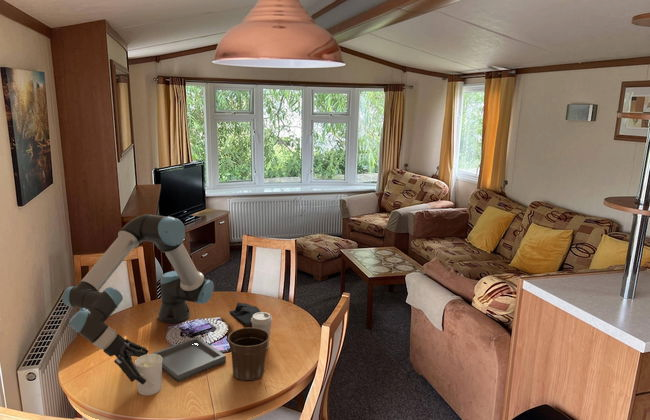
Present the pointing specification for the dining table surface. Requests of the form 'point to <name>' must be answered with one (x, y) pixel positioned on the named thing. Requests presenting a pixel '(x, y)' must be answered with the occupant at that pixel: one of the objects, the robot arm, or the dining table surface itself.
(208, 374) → the dining table surface
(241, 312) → the dark grey crumpled cloth
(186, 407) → the dining table surface
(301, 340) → the dining table surface
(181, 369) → the tray
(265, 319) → the coffee cup
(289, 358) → the dining table surface
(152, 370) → the candle holder
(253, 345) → the plant pot
